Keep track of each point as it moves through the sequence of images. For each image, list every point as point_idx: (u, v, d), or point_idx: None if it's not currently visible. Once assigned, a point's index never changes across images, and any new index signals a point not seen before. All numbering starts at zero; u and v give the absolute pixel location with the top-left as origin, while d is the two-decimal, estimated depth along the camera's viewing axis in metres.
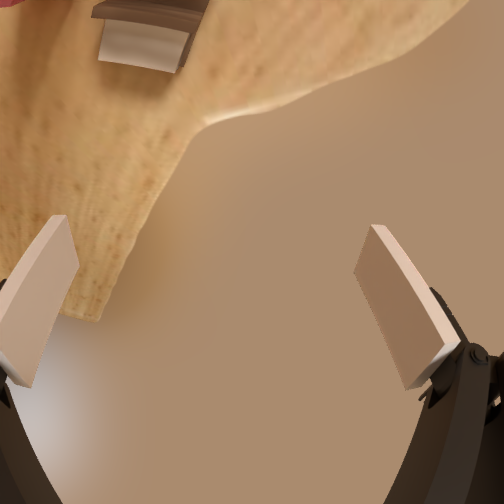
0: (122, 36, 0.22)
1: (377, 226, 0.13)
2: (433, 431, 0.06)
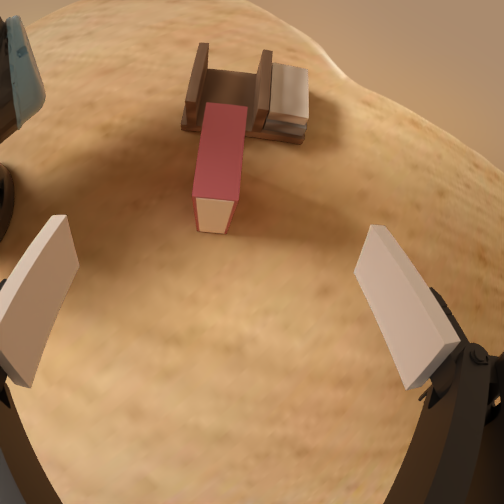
0: (284, 99, 0.34)
1: (377, 226, 0.13)
2: (433, 431, 0.06)
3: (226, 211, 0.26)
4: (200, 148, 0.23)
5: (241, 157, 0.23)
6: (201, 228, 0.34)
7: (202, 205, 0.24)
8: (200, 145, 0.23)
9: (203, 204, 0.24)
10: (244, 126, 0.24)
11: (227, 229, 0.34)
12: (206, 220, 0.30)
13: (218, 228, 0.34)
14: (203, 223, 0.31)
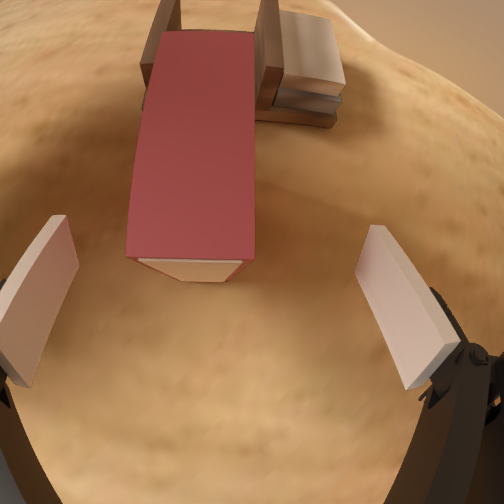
0: (305, 57, 0.20)
1: (377, 226, 0.13)
2: (433, 431, 0.06)
3: (223, 270, 0.11)
4: (144, 126, 0.08)
5: (251, 139, 0.09)
6: None
7: (163, 266, 0.10)
8: (144, 118, 0.08)
9: (166, 265, 0.10)
10: (251, 69, 0.09)
11: (228, 279, 0.19)
12: (186, 276, 0.15)
13: None
14: None
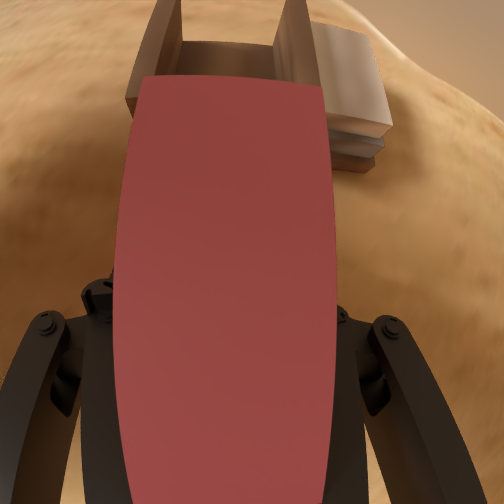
0: (343, 87, 0.16)
1: None
2: None
3: None
4: (120, 327, 0.04)
5: (330, 353, 0.05)
6: None
7: None
8: (119, 308, 0.04)
9: None
10: (326, 179, 0.05)
11: None
12: None
13: None
14: None
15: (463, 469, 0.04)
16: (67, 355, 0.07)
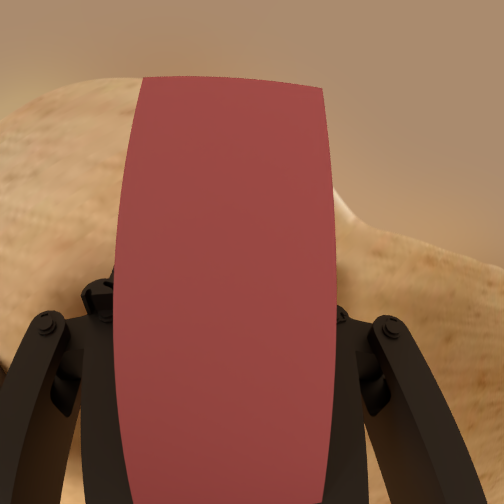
0: None
1: None
2: None
3: None
4: (120, 328, 0.04)
5: (330, 354, 0.05)
6: None
7: None
8: (119, 310, 0.04)
9: None
10: (326, 180, 0.05)
11: None
12: None
13: None
14: None
15: (463, 469, 0.04)
16: (67, 355, 0.07)
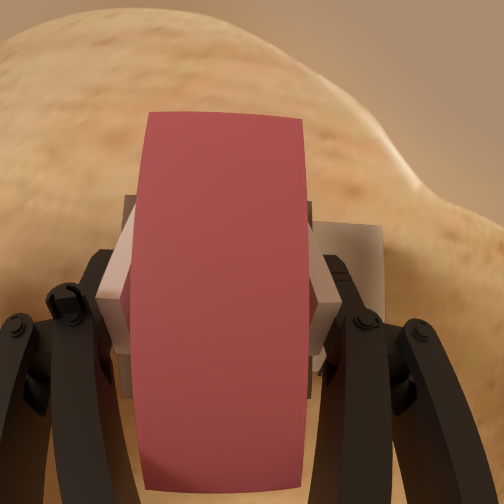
0: None
1: None
2: (333, 414, 0.07)
3: None
4: (136, 322, 0.06)
5: (304, 344, 0.06)
6: None
7: None
8: (135, 308, 0.06)
9: None
10: (302, 201, 0.06)
11: None
12: None
13: None
14: None
15: (479, 470, 0.04)
16: (35, 357, 0.07)
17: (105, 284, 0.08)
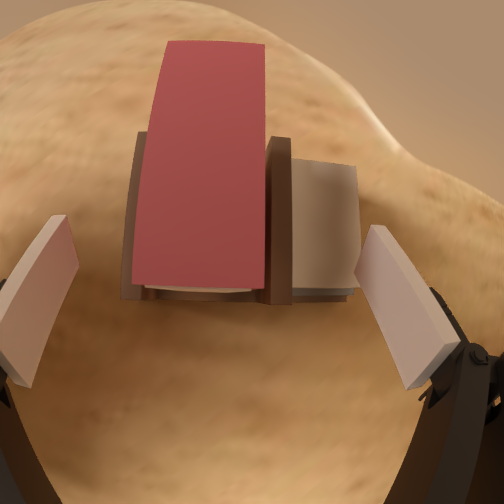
0: (319, 253, 0.19)
1: (377, 226, 0.13)
2: (433, 431, 0.06)
3: (230, 291, 0.11)
4: (149, 145, 0.08)
5: (262, 161, 0.09)
6: None
7: None
8: (150, 136, 0.08)
9: None
10: (262, 84, 0.09)
11: None
12: None
13: None
14: None
15: None
16: None
17: None
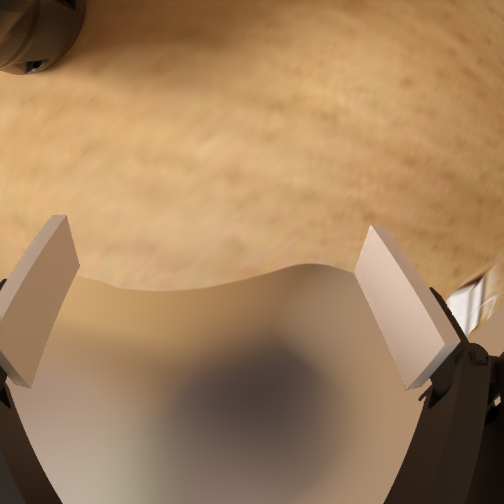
0: None
1: (377, 226, 0.13)
2: (433, 431, 0.06)
3: None
4: None
5: None
6: None
7: None
8: None
9: None
10: None
11: None
12: None
13: None
14: None
15: None
16: None
17: None
